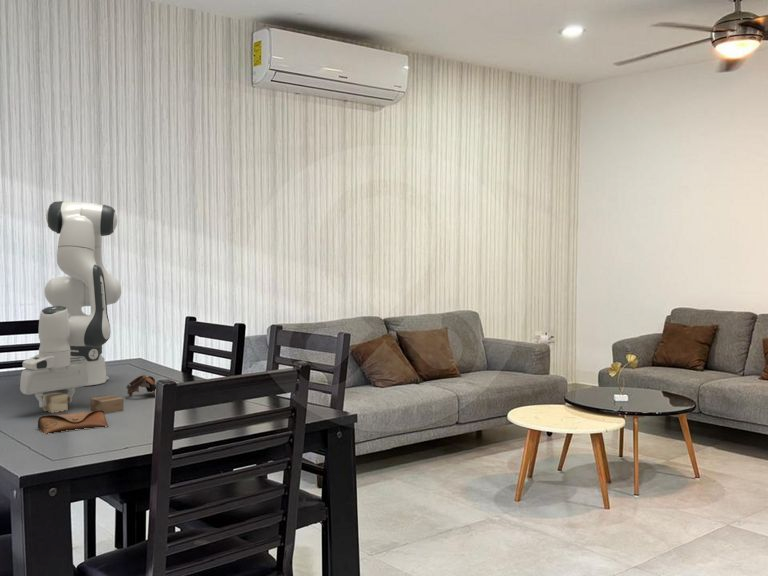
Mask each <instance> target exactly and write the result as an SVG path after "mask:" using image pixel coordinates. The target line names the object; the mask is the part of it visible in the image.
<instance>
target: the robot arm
mask: <svg viewBox="0 0 768 576" xmlns="http://www.w3.org/2000/svg"><path fill="white" fill-rule="evenodd" d="M45 216H46V217H45V218H46V219H45V220H46V223H47V227H48V228H49V229H50V230H51V231H53V232H55V233H56V234H59V237H58V242H57V249H56V264H57V266H58V267H59V269H60V270H61V271H62V272H63V273H64V274H65V276H64V275H63V276H58V277H54V278H50V279H49V280H48V281H47V283H46V284H45V286H44V287H45V288H44V296H45V299H46V301H47V302H48V303H49V304H50V306H47V307H44V308H43V309H41V311H40V315H39V317H38V319H39V321H38V339H39V343H40V344H39V348H38V354H36V355H34V356H32V357H29V358H27V359H25V360H24V361H23V362H22V368H24V369H23V370H22V371H21V373H20V381H19V385H20V386H19V389H20V392H21V393H22V394H24V395H28V396H30V395H34V396H35V398H36V399H37V401H38V407H39V408H43V407H46V406H47V401H44V400H43V395H44V393H50V392H54V391H55V392H56V391H62V390H67V391H68V393H67V404H70V403H71V404H72V401H73V395H74V394H75V392H76V388H81V387H87V386H94V385H101V384H105V383H106V382H107V381H108V379H109V380H110V377H109V376H108V375H107V370H106V359H105V357H103V355H102V354H103V346H104V344H106V343H107V342H108V341H109V340H110V338H111V324H110V319H109V315H108V306H109V305H112V304H113V305H114V304H116V303H117V302H118V301H119V300H120V298H121V295H122V286H121V283H120V282H119V280H117V278H116V277H114V276H112V275H111V274H110V273H109V272H108V271H107V270H106V268H105V267H104V265H103V258H102V237H106V236H111V235H112V234H113V233H114V231H115V230H116V228H117V225H118V216H117V213H116V210H115V209H114V207H112V206H110V205H106V204H103V205H102V204H99V203H92V202H86V201H82V202H81V201H63V200H60V201H59V200H58V201H53V202H52V203H50V204H49V207H48V209H47V210H46V214H45ZM83 307H90V314H86V313H84V312H83V310H82V308H83Z"/></svg>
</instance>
